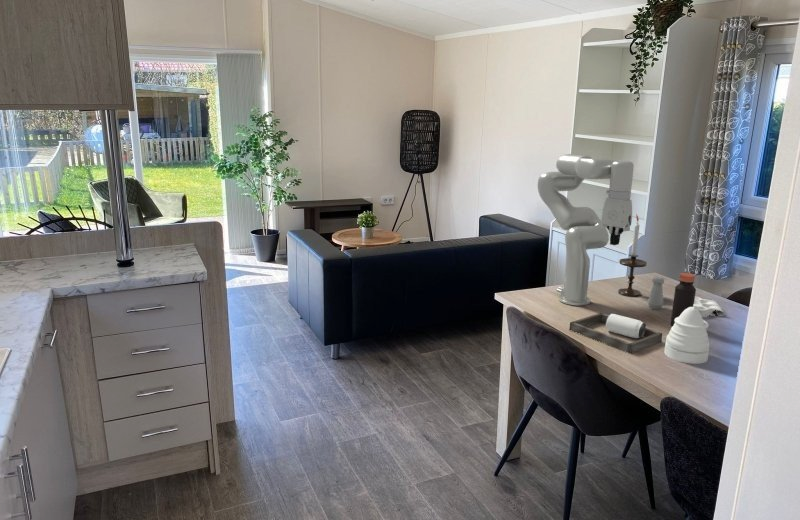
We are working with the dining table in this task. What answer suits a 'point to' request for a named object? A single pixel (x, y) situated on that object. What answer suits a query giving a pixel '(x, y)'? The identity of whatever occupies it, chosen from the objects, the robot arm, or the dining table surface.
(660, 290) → the salt shaker
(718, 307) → the white crumpled cloth
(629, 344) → the frame
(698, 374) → the dining table surface
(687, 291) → the bottle
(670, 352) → the honey pot
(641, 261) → the candlestick
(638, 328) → the can
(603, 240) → the robot arm
